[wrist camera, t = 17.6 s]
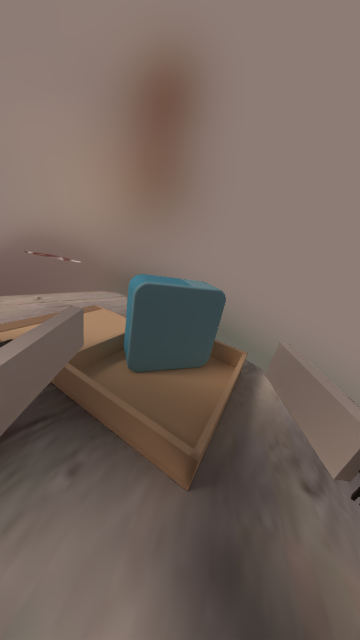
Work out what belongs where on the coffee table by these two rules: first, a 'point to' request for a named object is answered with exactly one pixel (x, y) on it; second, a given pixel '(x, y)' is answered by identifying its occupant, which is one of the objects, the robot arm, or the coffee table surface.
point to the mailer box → (145, 393)
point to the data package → (170, 323)
